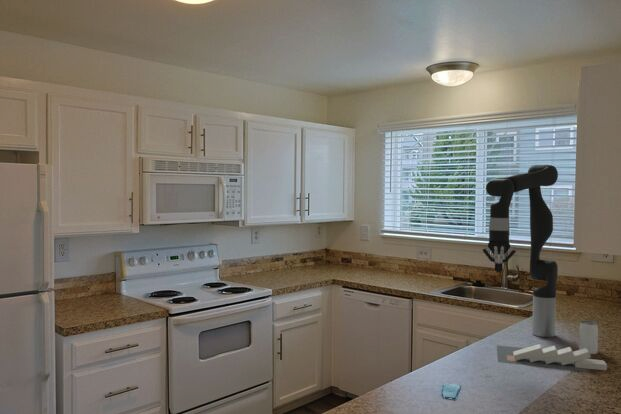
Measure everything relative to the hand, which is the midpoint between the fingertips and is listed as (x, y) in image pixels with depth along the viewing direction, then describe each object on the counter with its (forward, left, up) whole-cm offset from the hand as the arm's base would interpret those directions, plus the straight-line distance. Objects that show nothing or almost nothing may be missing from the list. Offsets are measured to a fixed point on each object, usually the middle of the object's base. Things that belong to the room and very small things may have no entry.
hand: (498, 272), depth 206 cm
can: (-8, +34, -31) cm, 47 cm away
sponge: (+53, -15, -32) cm, 63 cm away
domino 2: (+12, +11, -30) cm, 34 cm away
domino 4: (+12, +22, -29) cm, 38 cm away
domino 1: (+12, +6, -30) cm, 32 cm away
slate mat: (+7, +15, -31) cm, 35 cm away
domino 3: (+12, +16, -30) cm, 36 cm away
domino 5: (+12, +26, -30) cm, 41 cm away
